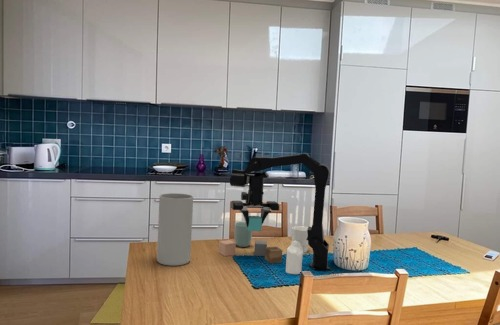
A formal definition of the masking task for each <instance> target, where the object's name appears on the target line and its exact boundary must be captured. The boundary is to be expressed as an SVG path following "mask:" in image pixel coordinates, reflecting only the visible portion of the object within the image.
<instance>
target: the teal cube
mask: <svg viewBox="0 0 500 325" xmlns="http://www.w3.org/2000/svg"><path fill="white" fill-rule="evenodd" d="M260 216H261V215H260ZM260 216H259V215H249V224H248V227H247V226H246V228H247V229H248V231H252V232H262V225H263V224H262V218H261V217H260Z"/></svg>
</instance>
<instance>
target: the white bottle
mask: <svg viewBox="0 0 500 325" xmlns="http://www.w3.org/2000/svg"><path fill="white" fill-rule="evenodd" d="M303 257H304V253H303V249H302V247H301V245H300V243H299V242H297V241H293V242H292V241H291V244H290V245H289V246H288V247H287V249H286V261H285V273H286V274H289V275H299V274H301V273H302V268H303V266H302V265H303ZM300 272H301V273H300Z"/></svg>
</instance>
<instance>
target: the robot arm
mask: <svg viewBox="0 0 500 325" xmlns="http://www.w3.org/2000/svg"><path fill="white" fill-rule="evenodd" d="M299 164H302V165H303V166H305V167H306V168H307V169H308V170H309V171H311V172H312V173H313V181H314V187H315V190H314V191H315V192H314V203H313V215H312V216H313V217H312V225H311V226H308V230H307V233H308V237H307V239H306V240H308V247H310V248H311V249H312V261H311V262H310V263H308V266H310V267H311V268H312V269H313V270H315V271H325V270H327V271H331V267H329V266H328V259H329V247H330V244H329V243H328V242H327V241H326V240H325V233H324V225H323V223H324V222H323V221H324V210H325V209H324V208H325V198H326V197H325V196H326V195H325V194H326V187H327V183H328V180H329V177H330V176H329V175H330V173H331V170H330V167H329V166H328V165H327V164H324V163H320V162H318V161H317V160H315V159H314V158H313V157H311V155H309V154H308V153H307V152H302V153H299V154H290V155H281V156H273V157H272V156H254V157H251V158H250V159H249V162H248V166H247V167H246V168H245V169H244V170H243V169H235V168H233V169H232V170H231V174H230V177H229V185H230V186H231V187H237V188H239V187H241V188H245V187H246V186H248V191H241V195H240V200H232V201H231V202H230V208H231V209H232V210H233V211H239V212H240V213H242V214H243V219H244V222H246V226H247V227H248V224H249V216H250V214H249V210H248V208H249V209H260V217H261V218H262V225H263V224H264V222H265V220H266V218H267V216H268V215H269V214H271V213H272V211H277V212H278V211H280V204H279V203H278V202H276V201H271V200H270V201H269V200H267V201H266V203H265V202H263V198H264V182H265V179H268V178H270V175H269V174H268V173H267V172H266V171H265V170H266V169H267V170H268V169H271V168H274V167H281V166H289V165H290V166H292V165H299ZM260 171H263V172H260ZM254 172H255V173H254ZM252 173H254V174H252ZM243 201H245V202H243Z"/></svg>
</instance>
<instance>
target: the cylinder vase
mask: <svg viewBox="0 0 500 325" xmlns="http://www.w3.org/2000/svg"><path fill="white" fill-rule="evenodd" d="M158 196H159V200H158V223H157V224H158V227H157V246H156V247H157V249H156V253H157V254H156V261H157V262H158V263H159V264H161V265H164V266H170V267H171V266H173V267H175V266H176V267H177V266H178V267H179V266H183V265H186V264H188V263H189V262H190V261H191V254H192V253H191V252H192V251H191V250H192V231H193V230H192V229H193V211H194V209H193V208H194V206H193V205H194V196H193V195H192V194H187V193H175V192H174V193H171V192H170V193H163V194H160V195H158Z"/></svg>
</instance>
